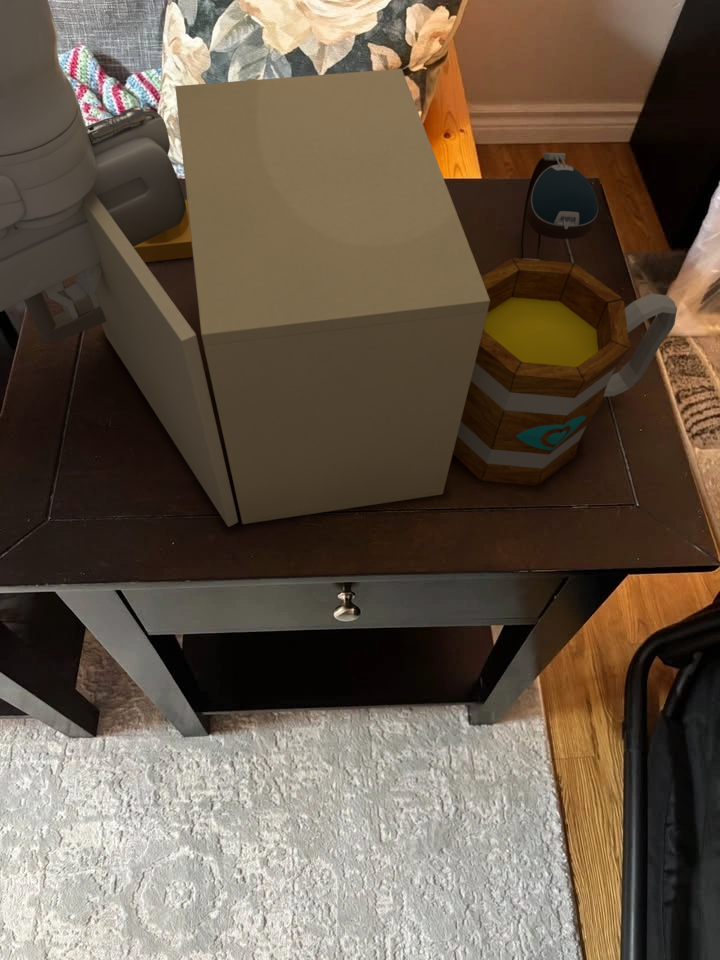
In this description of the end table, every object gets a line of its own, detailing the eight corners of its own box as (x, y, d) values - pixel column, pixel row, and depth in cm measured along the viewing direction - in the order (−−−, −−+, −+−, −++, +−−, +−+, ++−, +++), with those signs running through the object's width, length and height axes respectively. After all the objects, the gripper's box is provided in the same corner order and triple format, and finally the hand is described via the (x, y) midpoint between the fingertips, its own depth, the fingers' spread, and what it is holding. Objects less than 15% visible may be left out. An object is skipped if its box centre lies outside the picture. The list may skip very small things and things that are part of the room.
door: (167, 560, 63) (89, 381, 43) (50, 359, 74) (-56, 141, 54) (238, 522, 65) (196, 334, 45) (115, 331, 76) (36, 112, 56)
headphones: (576, 384, 73) (551, 247, 87) (624, 253, 61) (586, 117, 74) (512, 381, 73) (497, 244, 87) (547, 249, 61) (523, 114, 74)
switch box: (116, 265, 81) (107, 235, 78) (115, 222, 85) (106, 192, 82) (209, 255, 83) (204, 226, 79) (204, 213, 86) (199, 183, 83)
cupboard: (242, 524, 65) (201, 334, 45) (216, 308, 78) (175, 85, 58) (442, 494, 67) (490, 300, 47) (384, 289, 81) (401, 68, 60)
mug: (468, 503, 67) (500, 401, 54) (417, 389, 74) (435, 273, 61) (662, 452, 71) (735, 344, 58) (597, 347, 77) (649, 229, 64)
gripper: (135, 77, 53) (171, 233, 65) (-155, 192, 46) (-56, 345, 58) (185, 119, 51) (212, 273, 63) (-113, 247, 44) (-19, 396, 55)
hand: (82, 309), depth 60 cm, fingers closed
